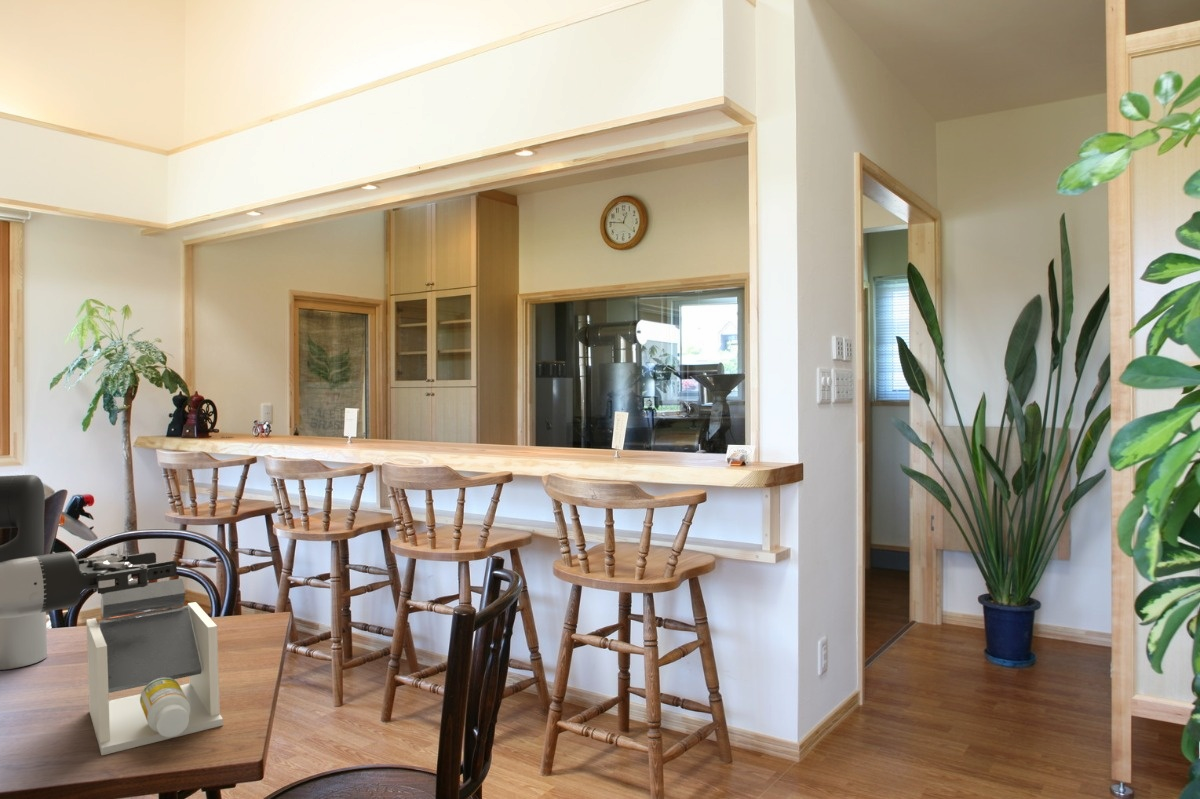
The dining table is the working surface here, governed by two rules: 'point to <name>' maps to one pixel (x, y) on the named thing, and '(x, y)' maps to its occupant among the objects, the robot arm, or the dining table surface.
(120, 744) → the trapdoor stand
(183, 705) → the supplement bottle
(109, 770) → the dining table surface
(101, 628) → the trapdoor
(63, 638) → the dining table surface
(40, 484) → the robot arm
